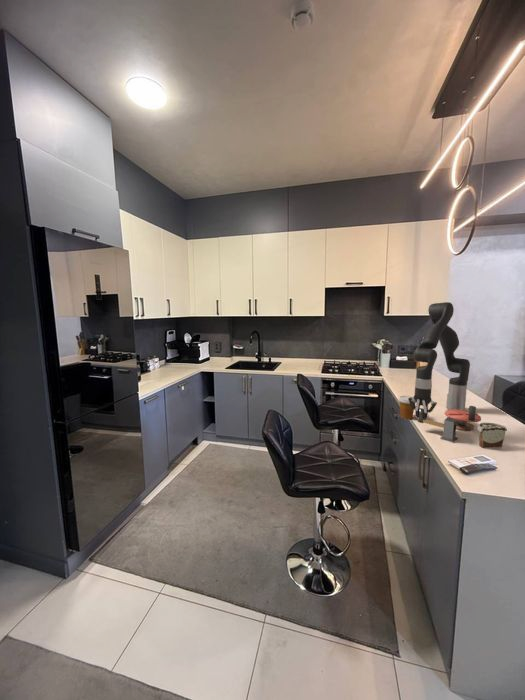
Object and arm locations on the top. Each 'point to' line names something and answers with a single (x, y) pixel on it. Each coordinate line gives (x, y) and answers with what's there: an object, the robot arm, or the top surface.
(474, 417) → the handwheel
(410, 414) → the disposable coffee cup
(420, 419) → the hook
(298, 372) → the top surface
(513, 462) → the top surface
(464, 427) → the pedestal
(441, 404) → the top surface
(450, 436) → the eye block
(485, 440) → the food container
